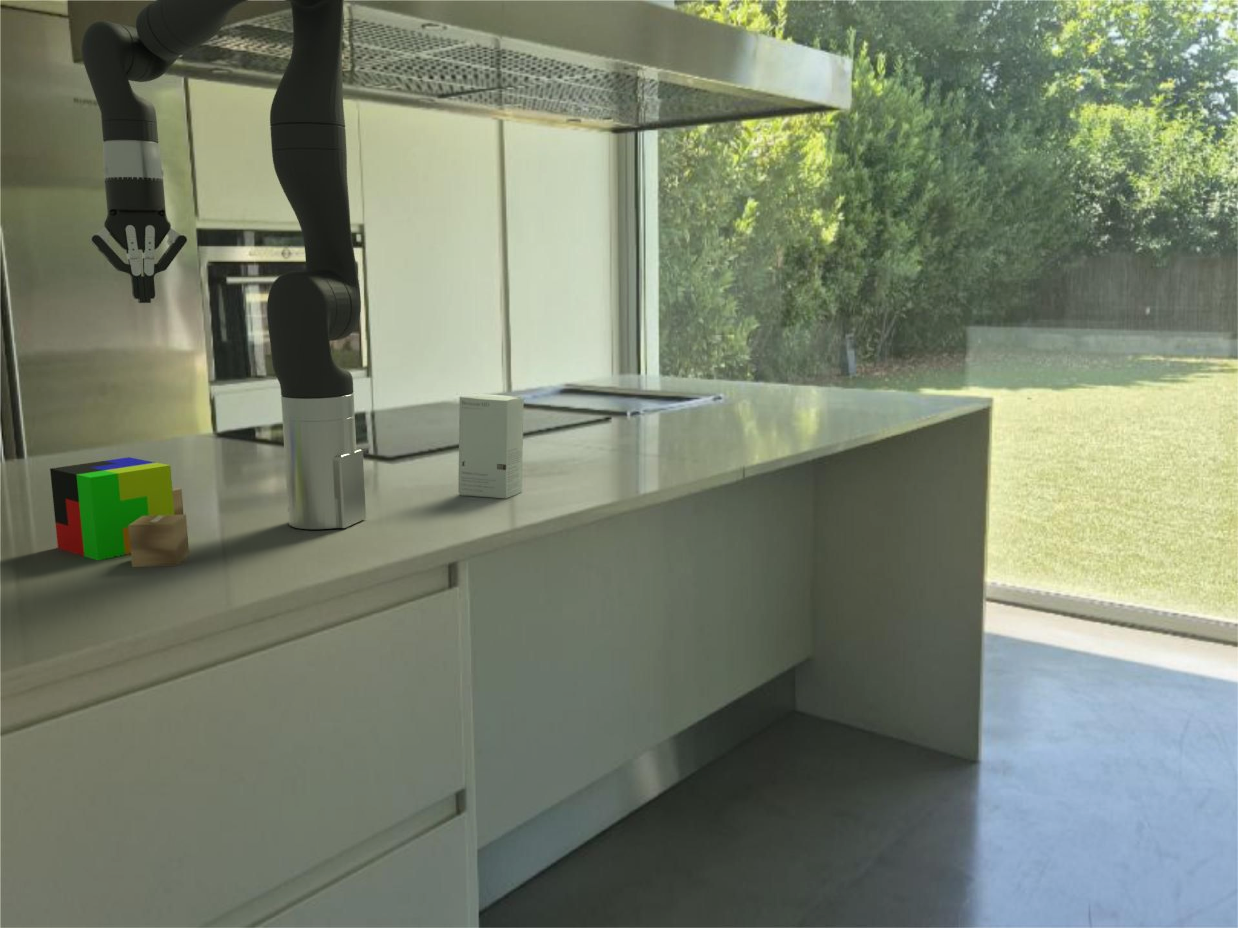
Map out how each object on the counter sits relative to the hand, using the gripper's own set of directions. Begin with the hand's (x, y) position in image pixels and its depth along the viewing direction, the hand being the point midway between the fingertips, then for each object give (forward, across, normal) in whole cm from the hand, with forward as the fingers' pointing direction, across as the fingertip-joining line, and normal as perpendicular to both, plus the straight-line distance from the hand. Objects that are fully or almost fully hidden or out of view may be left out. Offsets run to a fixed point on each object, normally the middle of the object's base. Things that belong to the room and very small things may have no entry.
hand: (144, 302), depth 159 cm
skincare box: (+29, -44, +20) cm, 56 cm away
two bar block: (+29, +3, +16) cm, 33 cm away
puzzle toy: (+29, +8, +24) cm, 39 cm away
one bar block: (+29, +5, +35) cm, 46 cm away
